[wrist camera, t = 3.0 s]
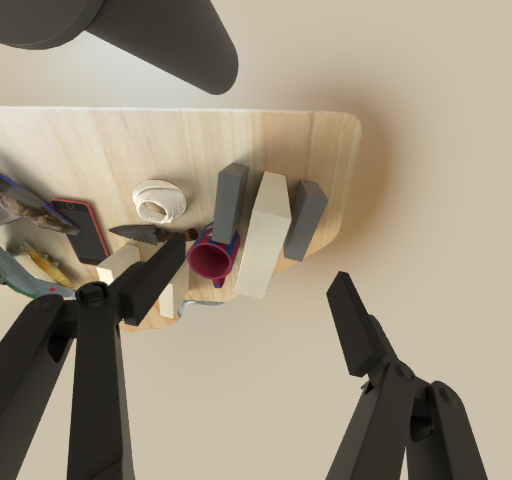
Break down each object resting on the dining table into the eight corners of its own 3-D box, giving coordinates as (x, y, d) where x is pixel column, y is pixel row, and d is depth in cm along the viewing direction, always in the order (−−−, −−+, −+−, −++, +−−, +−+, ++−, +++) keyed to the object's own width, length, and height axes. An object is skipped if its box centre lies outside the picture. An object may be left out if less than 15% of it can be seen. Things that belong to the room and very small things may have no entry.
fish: (74, 287, 40) (62, 294, 42) (83, 281, 42) (72, 287, 44) (21, 241, 36) (10, 251, 38) (34, 236, 38) (23, 246, 40)
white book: (252, 225, 31) (234, 293, 18) (264, 170, 27) (252, 209, 14) (269, 229, 31) (263, 300, 19) (285, 175, 27) (292, 219, 14)
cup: (240, 223, 31) (232, 245, 25) (239, 269, 36) (232, 296, 31) (201, 219, 32) (184, 240, 26) (205, 266, 37) (192, 291, 31)
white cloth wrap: (185, 177, 29) (172, 182, 25) (194, 218, 32) (183, 229, 28) (136, 180, 30) (113, 185, 25) (148, 220, 32) (130, 231, 28)
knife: (194, 231, 31) (190, 259, 32) (200, 229, 33) (195, 255, 34) (103, 206, 32) (102, 234, 33) (114, 205, 34) (112, 232, 35)
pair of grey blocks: (224, 219, 31) (211, 240, 25) (232, 162, 27) (218, 172, 21) (297, 236, 31) (301, 261, 25) (317, 183, 27) (328, 199, 21)
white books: (132, 277, 41) (106, 303, 35) (125, 243, 36) (95, 266, 30) (188, 290, 41) (173, 318, 35) (190, 258, 36) (172, 284, 30)
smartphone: (87, 203, 31) (112, 268, 39) (90, 202, 32) (114, 266, 39) (47, 198, 32) (79, 263, 39) (51, 197, 32) (82, 262, 39)
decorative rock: (78, 231, 33) (62, 248, 34) (87, 226, 35) (71, 242, 36) (-32, 157, 27) (-49, 180, 28) (-14, 156, 29) (-30, 178, 30)
